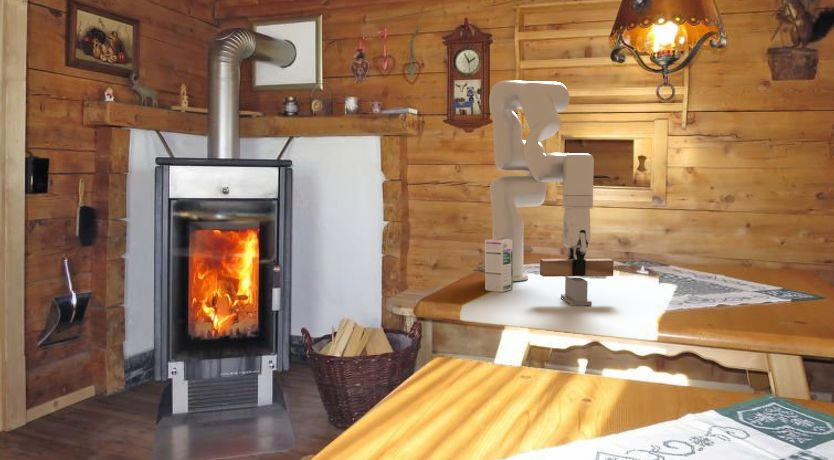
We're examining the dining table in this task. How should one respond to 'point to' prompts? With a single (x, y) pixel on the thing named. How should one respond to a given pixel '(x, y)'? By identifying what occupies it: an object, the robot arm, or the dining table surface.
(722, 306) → the dining table surface
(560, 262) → the beam
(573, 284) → the ridge block
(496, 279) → the syrup box
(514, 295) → the dining table surface
